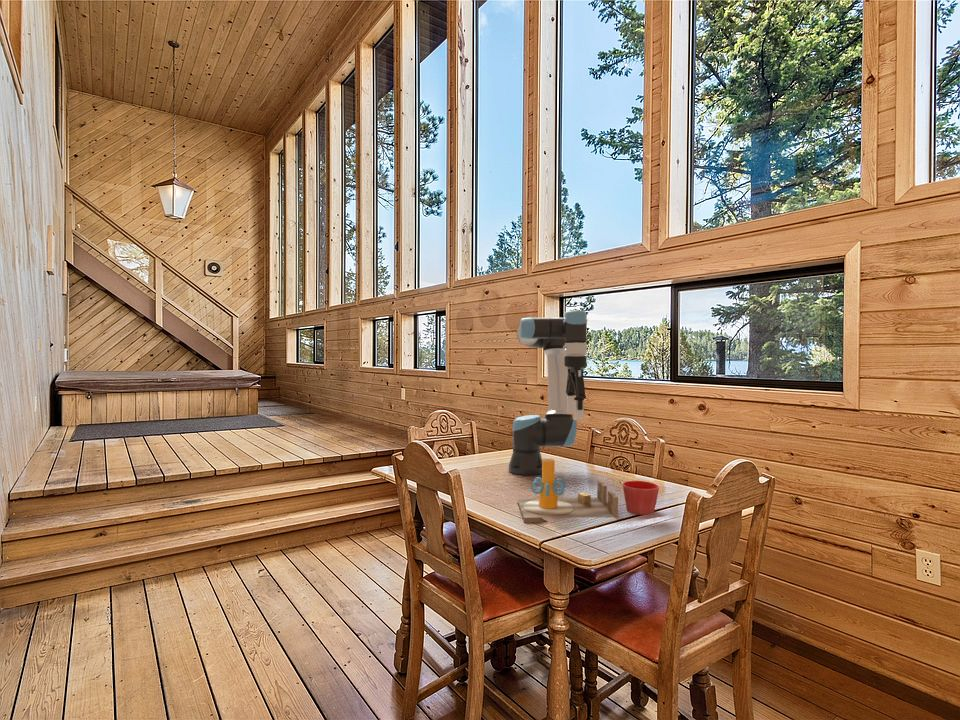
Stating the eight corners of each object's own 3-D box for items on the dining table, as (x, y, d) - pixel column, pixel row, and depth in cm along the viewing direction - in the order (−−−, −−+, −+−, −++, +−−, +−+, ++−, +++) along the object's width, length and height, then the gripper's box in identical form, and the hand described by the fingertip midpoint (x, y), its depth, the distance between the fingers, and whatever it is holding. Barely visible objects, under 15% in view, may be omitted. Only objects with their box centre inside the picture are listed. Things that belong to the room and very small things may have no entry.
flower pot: (633, 507, 174) (633, 478, 174) (664, 515, 166) (665, 484, 166) (615, 514, 167) (616, 484, 167) (647, 523, 159) (647, 491, 159)
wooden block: (577, 501, 176) (577, 492, 175) (584, 500, 177) (584, 492, 176) (584, 505, 172) (584, 496, 172) (590, 504, 173) (590, 495, 173)
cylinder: (563, 513, 163) (564, 464, 163) (530, 510, 165) (530, 463, 165) (565, 501, 175) (566, 456, 175) (534, 499, 177) (534, 455, 177)
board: (517, 502, 180) (517, 480, 179) (601, 501, 180) (602, 480, 180) (524, 522, 160) (524, 498, 159) (619, 521, 161) (619, 497, 160)
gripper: (558, 354, 195) (557, 411, 196) (572, 356, 170) (571, 422, 171) (578, 354, 195) (577, 411, 196) (595, 356, 170) (594, 422, 171)
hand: (575, 416), depth 183 cm, fingers open, 13 cm apart
